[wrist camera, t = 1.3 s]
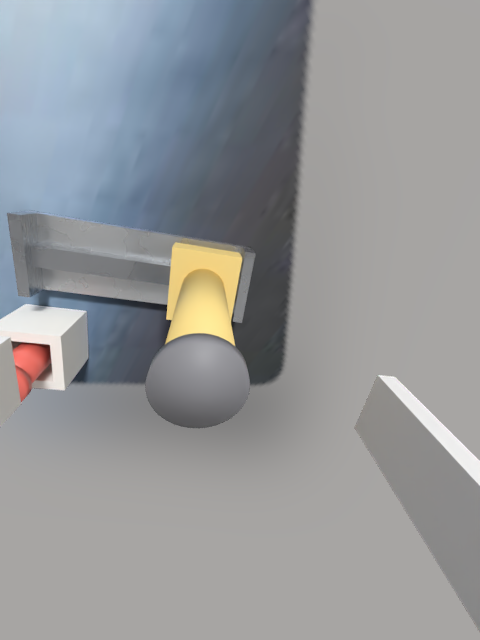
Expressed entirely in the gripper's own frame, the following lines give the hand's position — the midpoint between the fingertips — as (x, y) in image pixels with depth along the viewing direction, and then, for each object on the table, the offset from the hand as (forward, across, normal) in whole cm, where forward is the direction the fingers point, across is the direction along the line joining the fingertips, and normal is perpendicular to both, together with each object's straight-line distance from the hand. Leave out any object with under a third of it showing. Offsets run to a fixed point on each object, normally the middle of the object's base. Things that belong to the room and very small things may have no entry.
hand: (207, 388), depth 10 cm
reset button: (+13, -13, -7) cm, 20 cm away
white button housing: (+16, -13, -8) cm, 22 cm away
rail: (+16, -6, 0) cm, 17 cm away
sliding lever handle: (+15, 0, 0) cm, 15 cm away
